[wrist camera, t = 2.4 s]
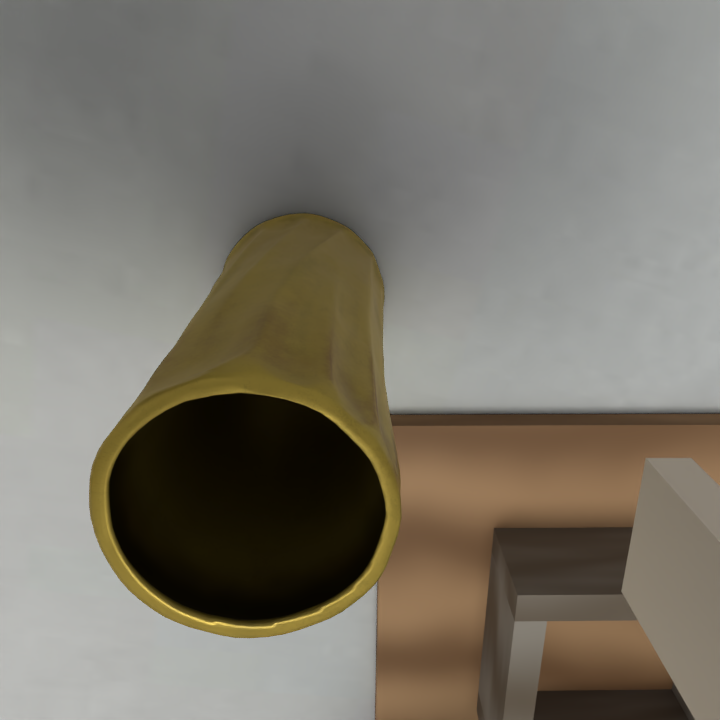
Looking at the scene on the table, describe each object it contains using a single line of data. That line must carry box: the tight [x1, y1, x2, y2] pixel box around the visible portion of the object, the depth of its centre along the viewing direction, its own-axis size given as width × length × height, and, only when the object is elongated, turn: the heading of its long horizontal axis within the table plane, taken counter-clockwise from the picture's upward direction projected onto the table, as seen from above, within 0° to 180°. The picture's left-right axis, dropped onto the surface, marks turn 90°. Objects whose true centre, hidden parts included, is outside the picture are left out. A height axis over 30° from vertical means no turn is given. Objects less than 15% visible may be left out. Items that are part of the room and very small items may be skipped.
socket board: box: [375, 414, 720, 720], centre depth 28 cm, size 26×22×5 cm
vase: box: [89, 213, 402, 638], centre depth 17 cm, size 6×6×14 cm
